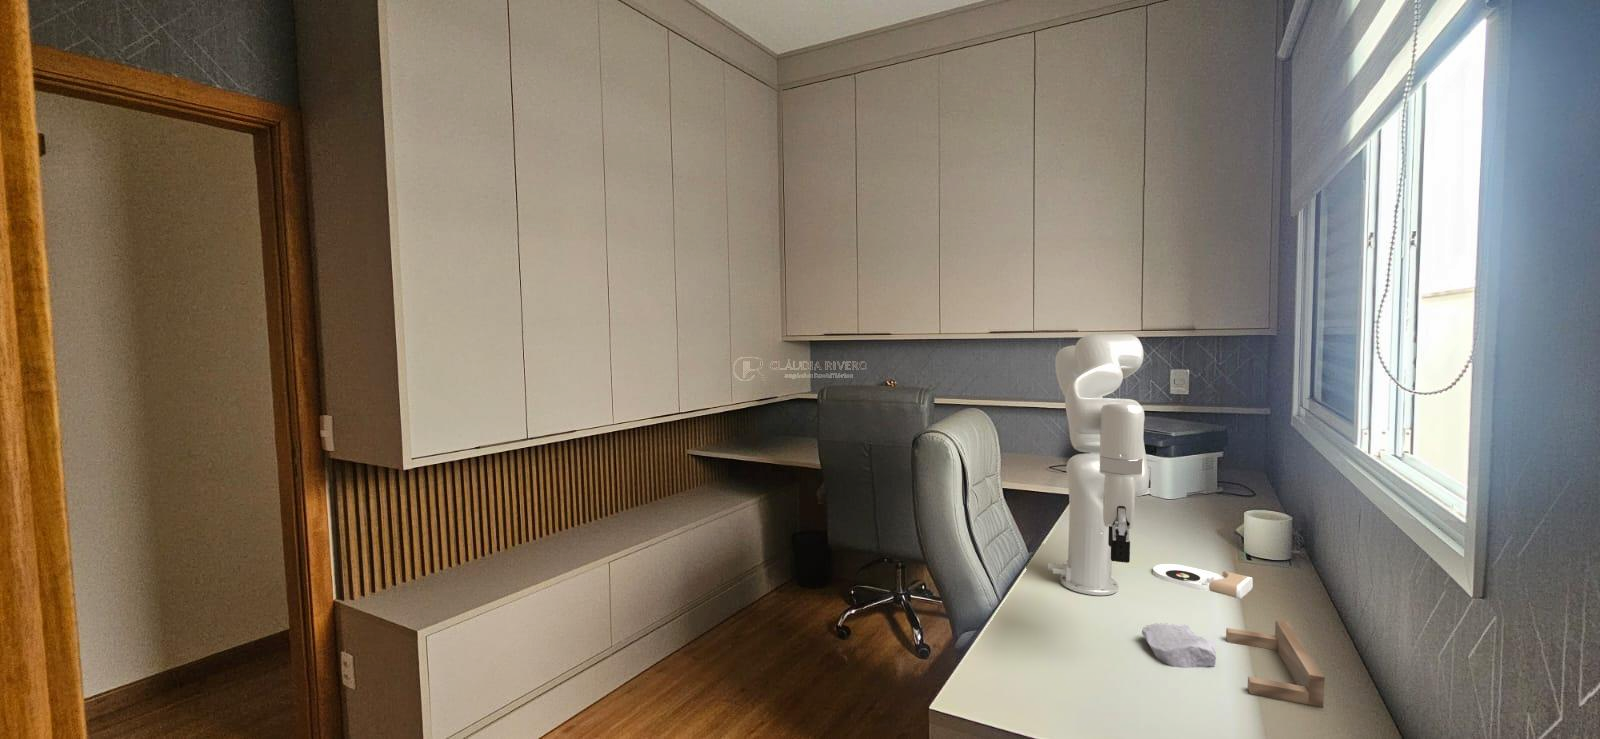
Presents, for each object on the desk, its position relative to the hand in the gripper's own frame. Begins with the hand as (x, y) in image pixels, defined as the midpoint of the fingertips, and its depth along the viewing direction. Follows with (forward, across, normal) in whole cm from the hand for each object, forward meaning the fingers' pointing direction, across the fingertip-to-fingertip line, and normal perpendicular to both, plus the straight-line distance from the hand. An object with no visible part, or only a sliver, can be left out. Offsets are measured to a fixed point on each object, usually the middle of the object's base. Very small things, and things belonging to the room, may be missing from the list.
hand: (1118, 553), depth 129 cm
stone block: (+18, 0, +10) cm, 21 cm away
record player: (+17, -42, +20) cm, 50 cm away
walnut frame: (+18, 0, +25) cm, 31 cm away
